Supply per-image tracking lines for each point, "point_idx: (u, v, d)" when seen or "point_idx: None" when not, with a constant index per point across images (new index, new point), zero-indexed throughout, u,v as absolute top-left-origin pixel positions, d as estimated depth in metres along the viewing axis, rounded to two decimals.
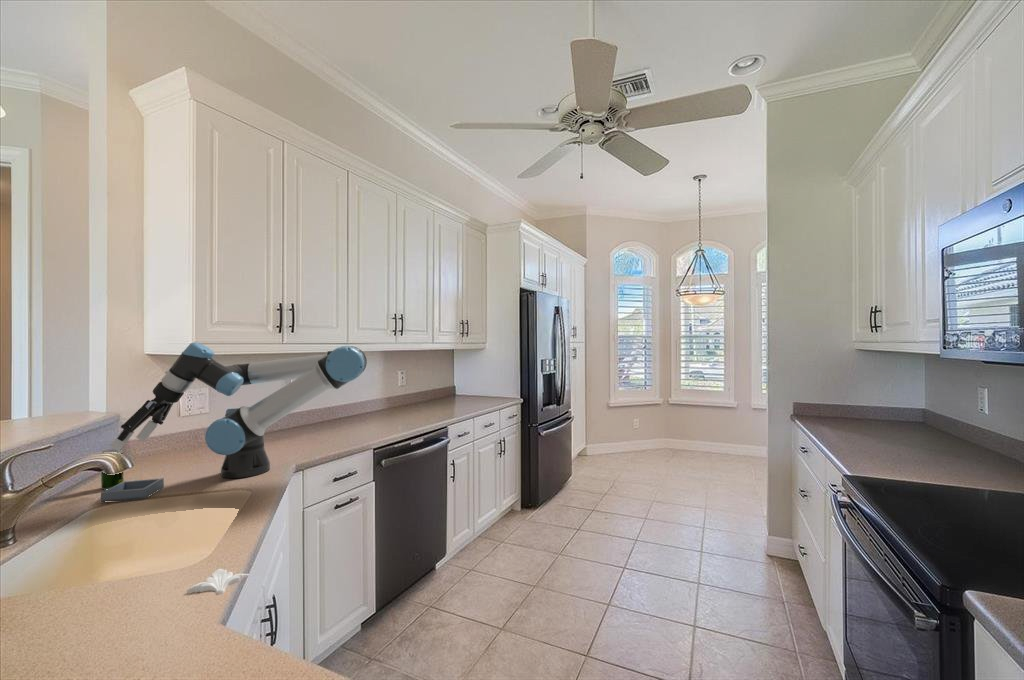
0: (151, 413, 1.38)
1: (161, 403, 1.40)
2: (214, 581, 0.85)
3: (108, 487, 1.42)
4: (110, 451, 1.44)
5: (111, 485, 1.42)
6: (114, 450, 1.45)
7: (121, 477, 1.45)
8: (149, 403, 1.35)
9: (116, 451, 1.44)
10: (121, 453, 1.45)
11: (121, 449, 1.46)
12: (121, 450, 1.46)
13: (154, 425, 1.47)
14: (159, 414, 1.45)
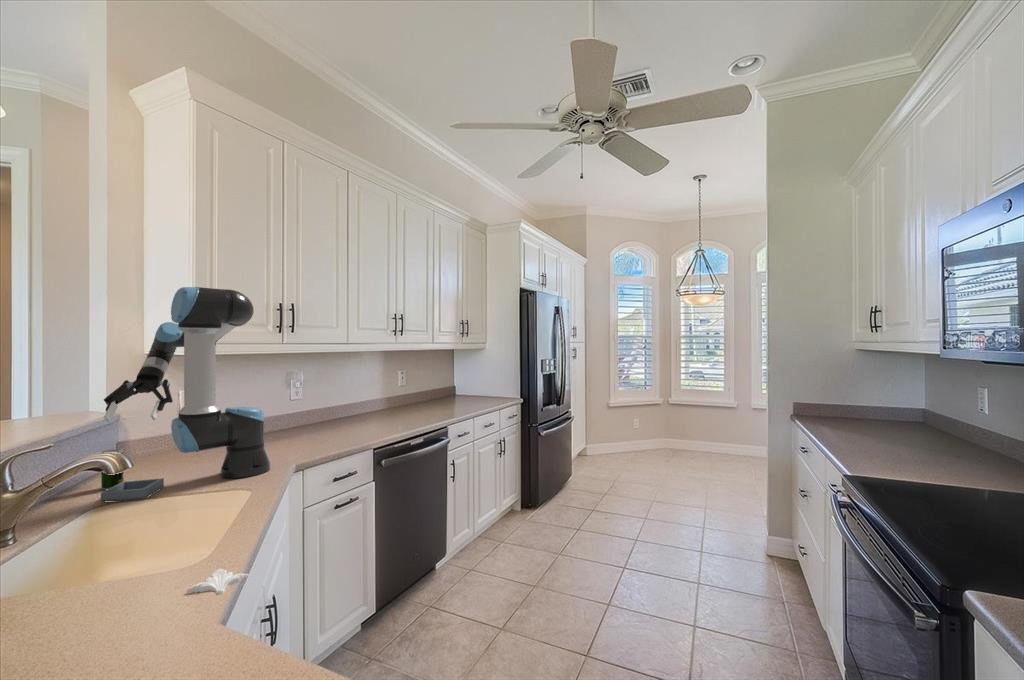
0: None
1: (139, 381, 1.65)
2: (214, 581, 0.85)
3: (108, 487, 1.42)
4: (110, 451, 1.44)
5: (111, 485, 1.42)
6: (114, 450, 1.45)
7: (121, 477, 1.45)
8: None
9: (116, 451, 1.44)
10: (121, 453, 1.45)
11: (121, 449, 1.46)
12: (121, 450, 1.46)
13: None
14: (154, 392, 1.63)
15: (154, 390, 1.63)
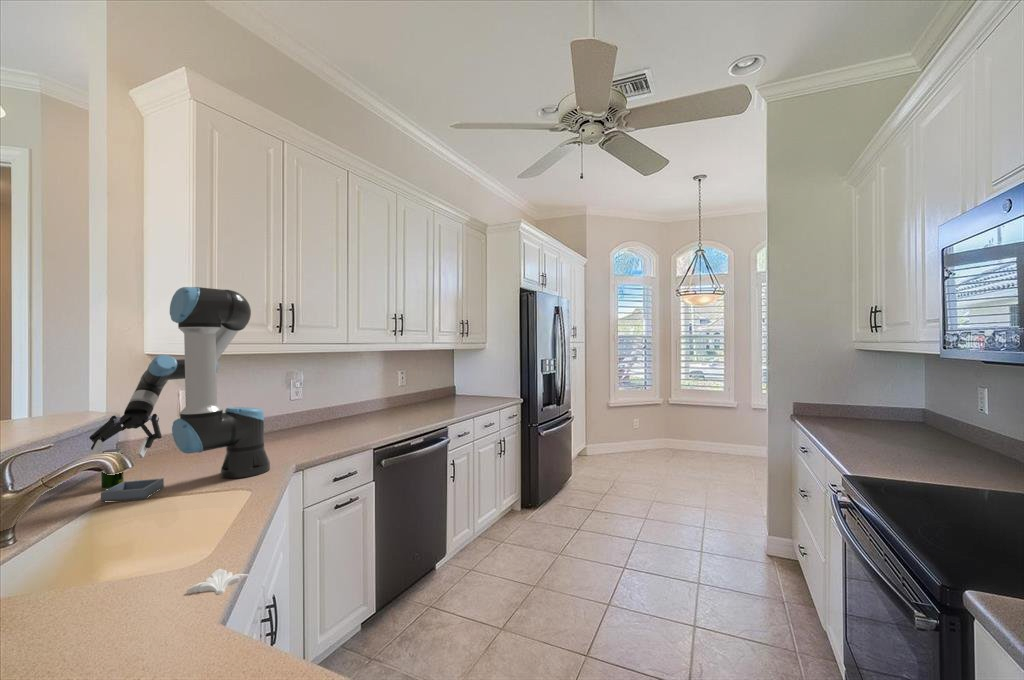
0: None
1: (126, 416, 1.58)
2: (214, 581, 0.85)
3: (108, 487, 1.42)
4: (110, 451, 1.44)
5: (111, 485, 1.42)
6: (114, 450, 1.45)
7: (121, 477, 1.45)
8: None
9: (116, 451, 1.44)
10: (121, 453, 1.45)
11: (121, 449, 1.46)
12: (121, 450, 1.46)
13: None
14: (142, 428, 1.56)
15: (142, 426, 1.56)
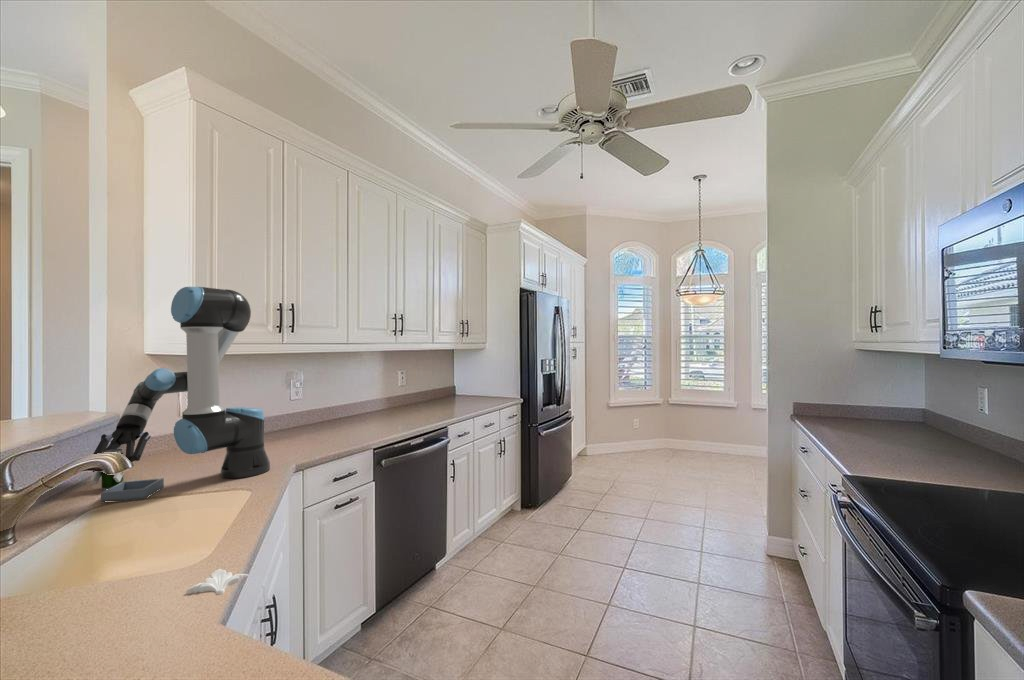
0: None
1: (118, 430, 1.52)
2: (213, 582, 0.85)
3: (108, 487, 1.42)
4: (110, 451, 1.44)
5: (111, 485, 1.42)
6: (114, 450, 1.45)
7: None
8: None
9: (116, 451, 1.44)
10: (121, 453, 1.45)
11: (121, 449, 1.46)
12: (121, 450, 1.46)
13: None
14: None
15: (128, 444, 1.49)
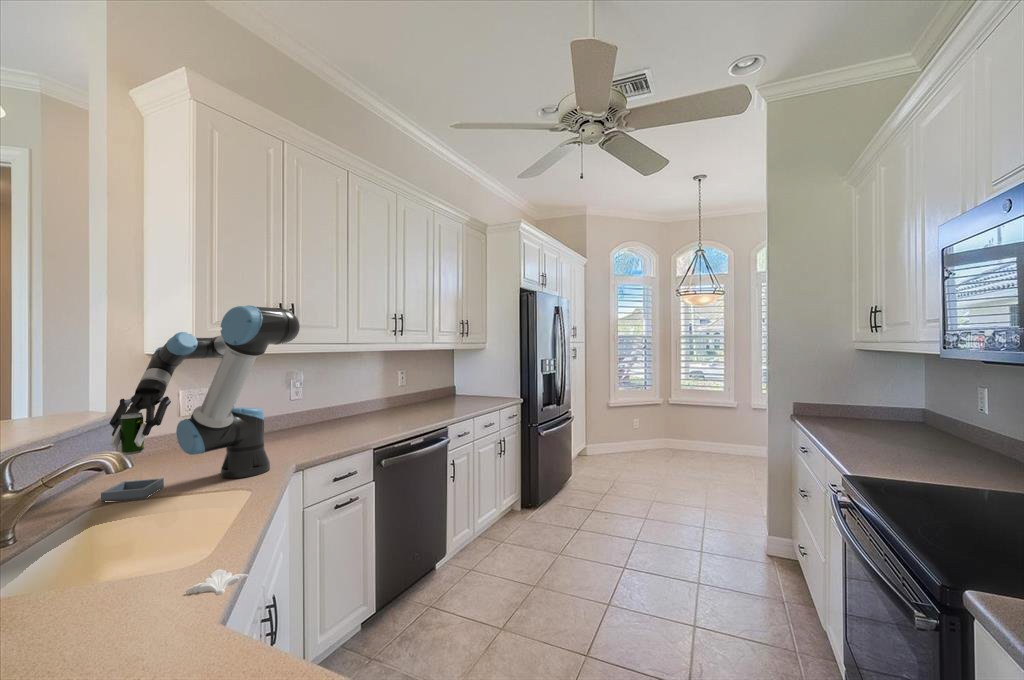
0: None
1: (137, 395, 1.45)
2: (213, 582, 0.85)
3: (128, 452, 1.35)
4: (130, 414, 1.36)
5: (132, 449, 1.35)
6: (134, 413, 1.38)
7: (142, 442, 1.38)
8: None
9: (136, 414, 1.36)
10: (141, 416, 1.38)
11: None
12: (141, 413, 1.38)
13: None
14: None
15: (148, 408, 1.42)
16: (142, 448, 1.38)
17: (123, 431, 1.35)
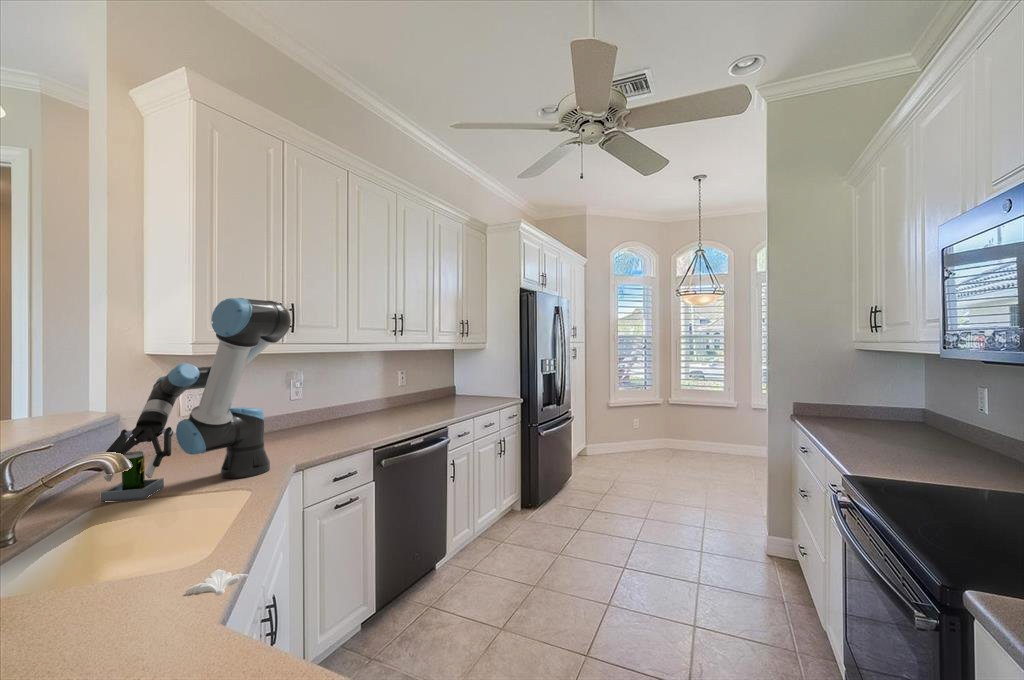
0: None
1: (139, 428, 1.45)
2: (213, 582, 0.85)
3: None
4: (131, 454, 1.36)
5: None
6: (135, 452, 1.38)
7: (142, 481, 1.37)
8: None
9: (137, 453, 1.36)
10: (142, 456, 1.38)
11: (142, 451, 1.39)
12: (142, 452, 1.38)
13: None
14: None
15: (153, 440, 1.42)
16: (143, 487, 1.38)
17: (124, 471, 1.35)
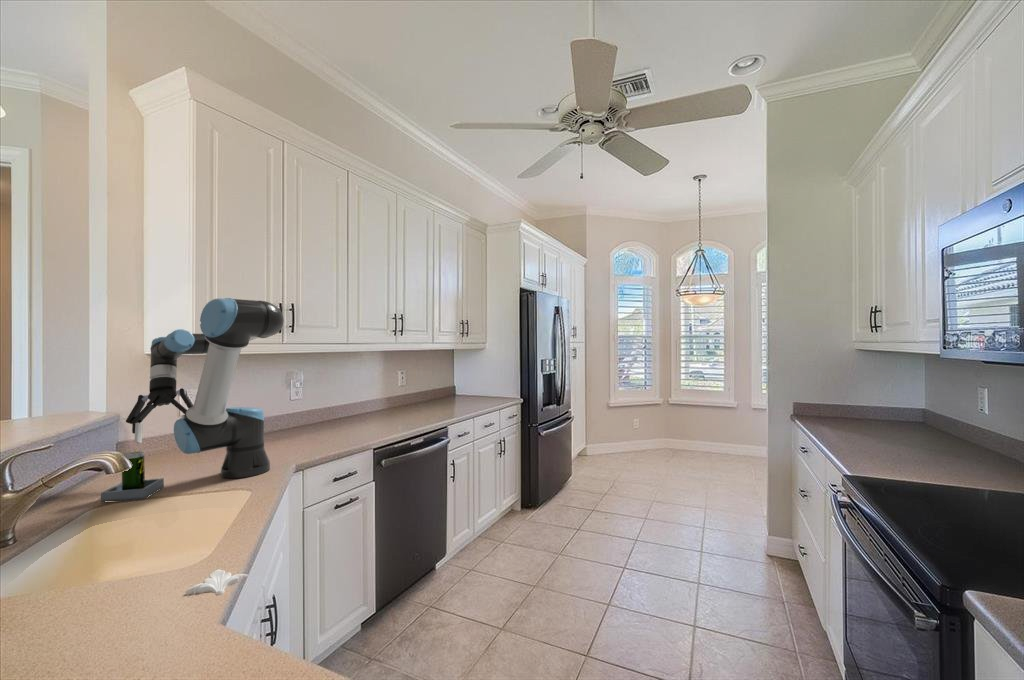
0: None
1: (153, 394, 1.55)
2: (213, 582, 0.85)
3: None
4: (131, 454, 1.36)
5: None
6: (135, 453, 1.38)
7: (142, 481, 1.37)
8: None
9: (137, 454, 1.36)
10: (142, 456, 1.38)
11: (142, 452, 1.39)
12: (142, 453, 1.38)
13: None
14: (174, 405, 1.56)
15: (174, 403, 1.55)
16: (143, 487, 1.38)
17: (124, 471, 1.35)
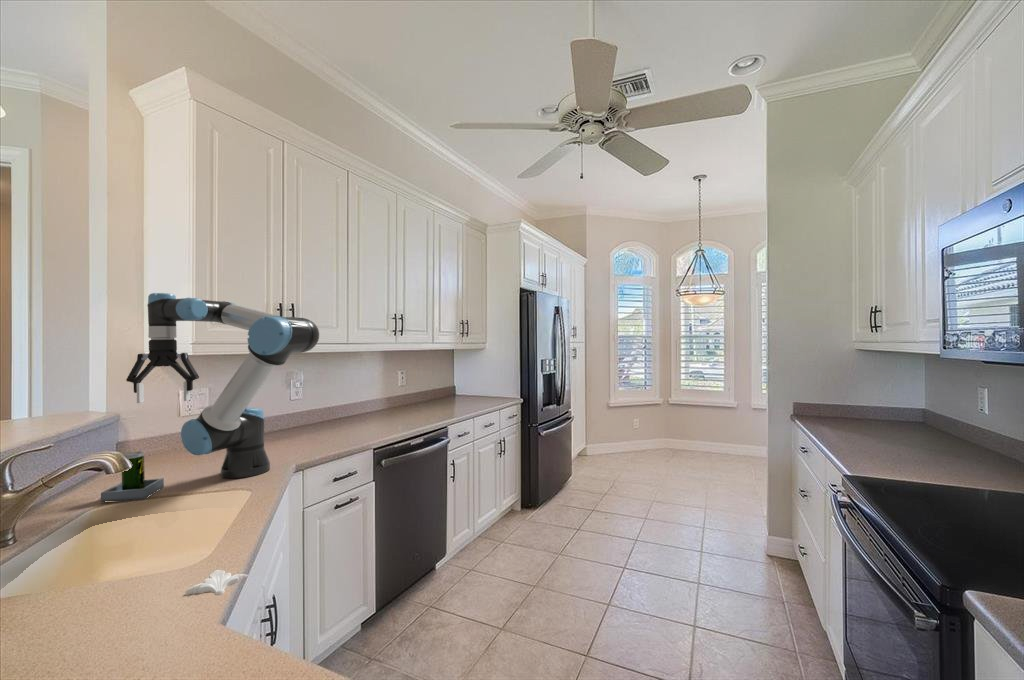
0: None
1: (153, 354, 1.50)
2: (213, 582, 0.85)
3: None
4: (131, 454, 1.36)
5: None
6: (135, 453, 1.38)
7: (142, 481, 1.37)
8: None
9: (137, 454, 1.36)
10: (142, 456, 1.38)
11: (142, 452, 1.39)
12: (142, 453, 1.38)
13: None
14: None
15: (175, 368, 1.51)
16: (143, 487, 1.38)
17: (124, 471, 1.35)
